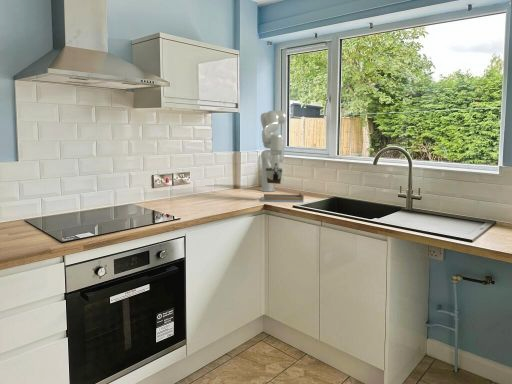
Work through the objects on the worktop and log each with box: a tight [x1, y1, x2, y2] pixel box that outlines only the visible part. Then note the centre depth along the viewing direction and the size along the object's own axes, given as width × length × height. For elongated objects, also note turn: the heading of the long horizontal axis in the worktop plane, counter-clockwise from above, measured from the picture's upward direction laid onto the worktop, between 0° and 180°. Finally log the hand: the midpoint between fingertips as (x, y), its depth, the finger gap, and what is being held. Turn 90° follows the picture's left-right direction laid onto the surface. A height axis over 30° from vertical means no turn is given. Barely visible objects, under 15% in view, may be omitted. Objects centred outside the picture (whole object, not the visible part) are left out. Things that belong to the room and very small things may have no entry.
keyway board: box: [260, 191, 305, 203], centre depth 282 cm, size 12×28×5 cm, turn 91°
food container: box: [265, 167, 284, 185], centre depth 281 cm, size 12×6×10 cm, turn 67°
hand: (275, 179), depth 280 cm, fingers closed on food container, 6 cm apart
